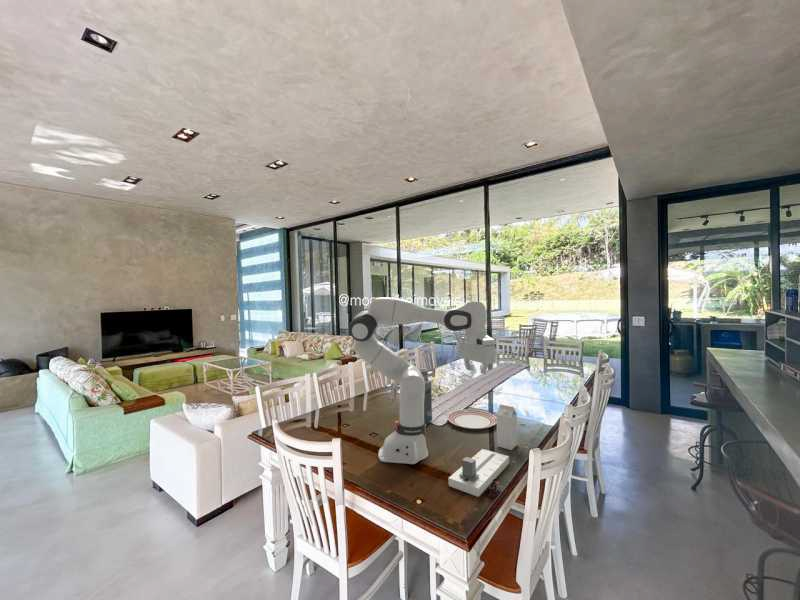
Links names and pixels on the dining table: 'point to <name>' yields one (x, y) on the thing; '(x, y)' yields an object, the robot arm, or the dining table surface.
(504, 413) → the milk carton
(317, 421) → the dining table surface
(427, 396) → the bottle
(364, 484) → the dining table surface
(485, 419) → the dinner plate
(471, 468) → the fader tab
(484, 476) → the console board
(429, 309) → the robot arm
